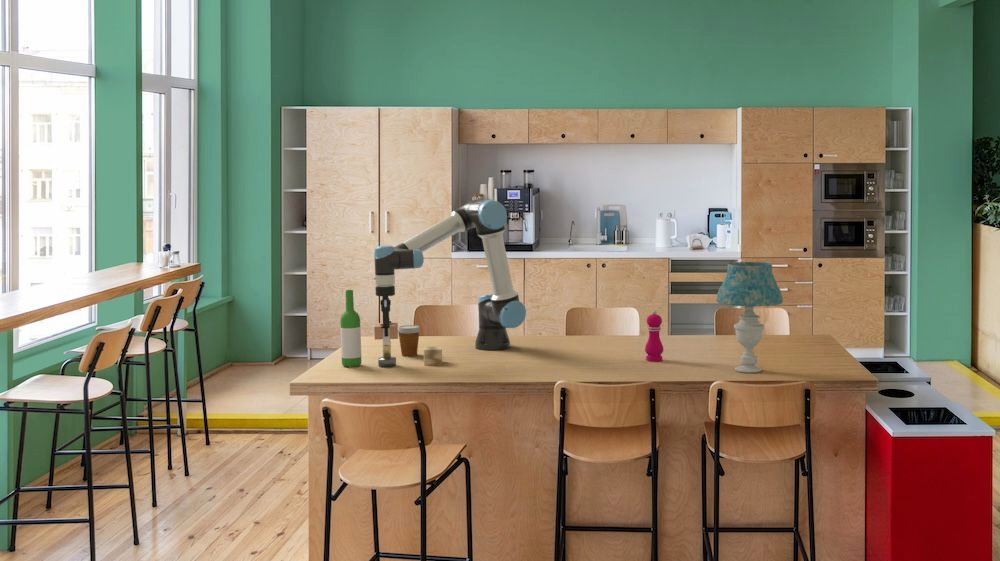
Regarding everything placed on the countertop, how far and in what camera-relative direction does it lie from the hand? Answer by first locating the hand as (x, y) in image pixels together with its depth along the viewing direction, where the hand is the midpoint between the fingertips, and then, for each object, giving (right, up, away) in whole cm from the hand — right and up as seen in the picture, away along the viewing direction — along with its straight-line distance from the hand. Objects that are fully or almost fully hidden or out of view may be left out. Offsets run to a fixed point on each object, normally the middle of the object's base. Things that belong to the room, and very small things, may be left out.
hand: (386, 342), depth 388 cm
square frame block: (0, +2, 0) cm, 2 cm away
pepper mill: (+106, -8, +3) cm, 106 cm away
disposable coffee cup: (+7, -7, +23) cm, 25 cm away
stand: (+18, -8, +5) cm, 20 cm away
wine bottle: (-14, -9, +3) cm, 17 cm away
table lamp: (+137, -9, -19) cm, 139 cm away
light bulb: (0, -9, +1) cm, 9 cm away
